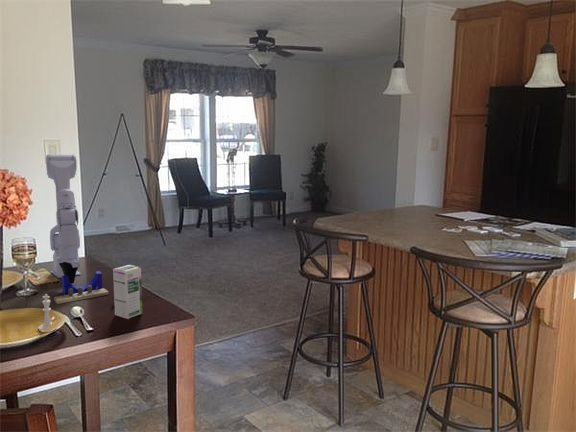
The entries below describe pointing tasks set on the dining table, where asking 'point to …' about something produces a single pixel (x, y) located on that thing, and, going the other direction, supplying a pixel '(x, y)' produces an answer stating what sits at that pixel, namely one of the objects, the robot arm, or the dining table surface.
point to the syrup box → (127, 291)
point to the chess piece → (46, 314)
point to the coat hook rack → (80, 294)
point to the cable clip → (95, 282)
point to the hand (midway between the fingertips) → (70, 283)
